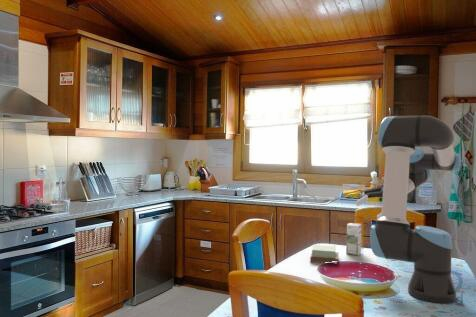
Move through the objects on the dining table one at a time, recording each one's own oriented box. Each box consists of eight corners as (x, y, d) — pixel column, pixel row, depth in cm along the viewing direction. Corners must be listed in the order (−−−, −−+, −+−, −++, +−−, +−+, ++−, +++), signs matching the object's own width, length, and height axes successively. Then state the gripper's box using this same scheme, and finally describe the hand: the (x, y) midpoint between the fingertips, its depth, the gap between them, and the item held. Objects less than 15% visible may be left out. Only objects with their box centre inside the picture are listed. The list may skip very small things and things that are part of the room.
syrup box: (361, 253, 196) (361, 223, 196) (357, 255, 191) (358, 225, 191) (349, 251, 199) (350, 222, 199) (345, 253, 194) (346, 224, 194)
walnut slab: (338, 266, 175) (338, 259, 175) (310, 263, 178) (310, 257, 178) (338, 258, 187) (338, 252, 187) (312, 256, 190) (312, 250, 190)
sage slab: (335, 258, 177) (335, 251, 177) (312, 256, 179) (312, 249, 179) (335, 252, 187) (335, 246, 186) (313, 251, 189) (313, 244, 189)
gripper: (423, 206, 181) (388, 230, 176) (383, 182, 201) (350, 204, 196) (422, 193, 177) (386, 218, 172) (381, 170, 197) (347, 192, 192)
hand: (366, 210), depth 184 cm, fingers open, 13 cm apart
